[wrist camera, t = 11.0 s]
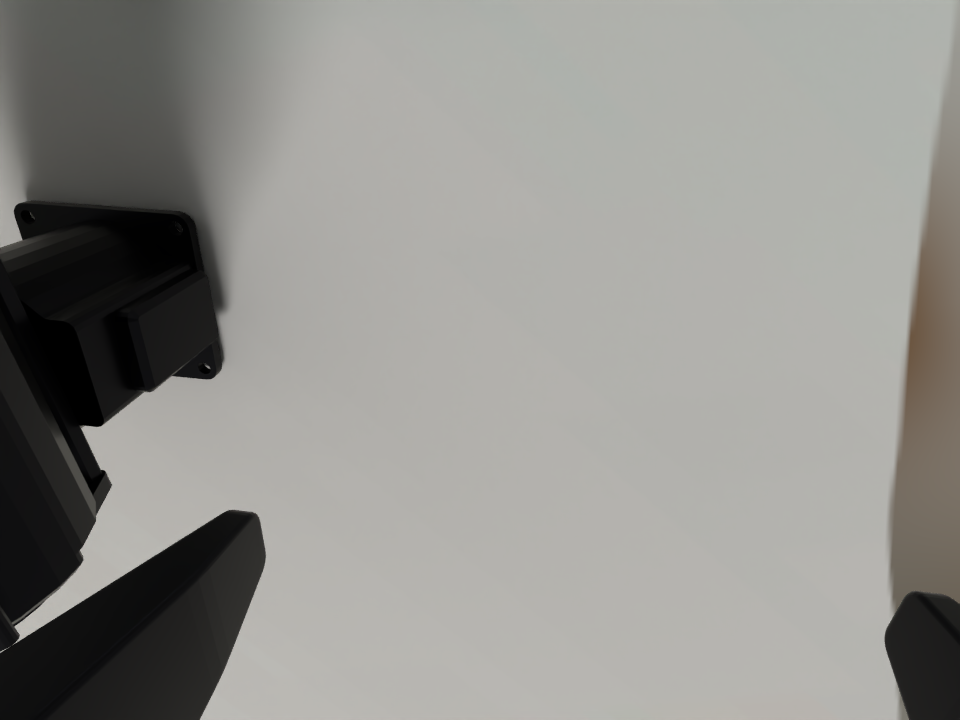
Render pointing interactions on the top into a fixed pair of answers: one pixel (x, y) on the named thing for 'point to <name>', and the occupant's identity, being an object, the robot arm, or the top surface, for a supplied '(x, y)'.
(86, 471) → the robot arm
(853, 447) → the top surface
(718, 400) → the top surface
